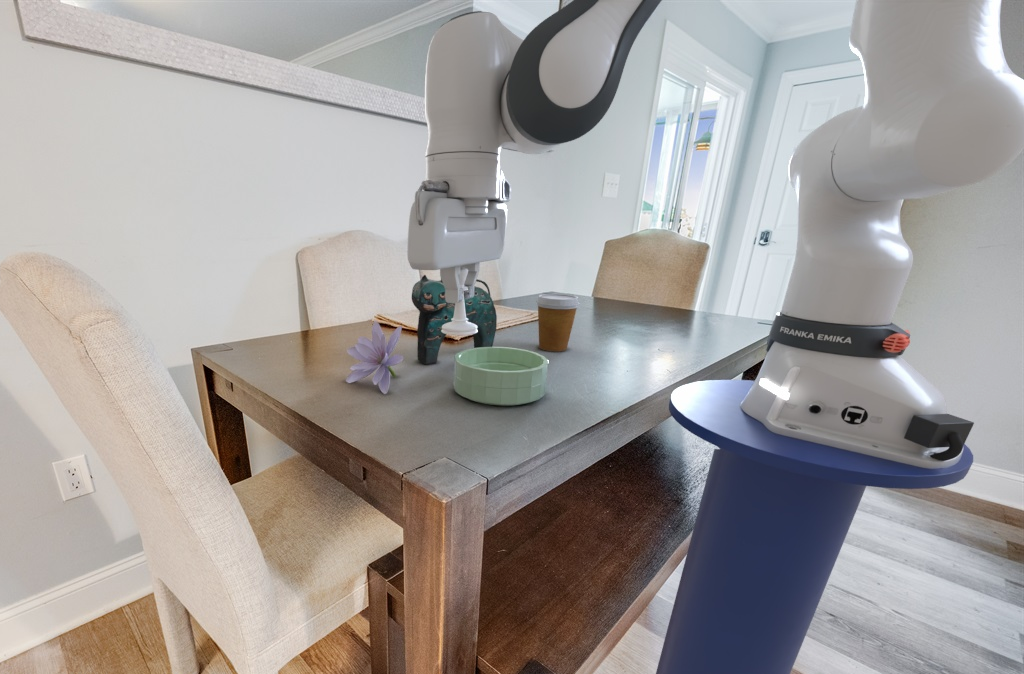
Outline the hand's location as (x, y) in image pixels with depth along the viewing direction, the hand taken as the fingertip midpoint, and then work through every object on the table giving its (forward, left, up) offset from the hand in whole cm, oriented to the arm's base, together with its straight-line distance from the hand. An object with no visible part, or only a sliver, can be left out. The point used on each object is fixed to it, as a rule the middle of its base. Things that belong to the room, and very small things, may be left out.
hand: (460, 300), depth 60 cm
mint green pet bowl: (+6, -15, -18) cm, 24 cm away
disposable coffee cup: (+19, -47, -18) cm, 54 cm away
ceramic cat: (+27, -23, -18) cm, 40 cm away
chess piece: (0, 0, -4) cm, 4 cm away
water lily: (+23, 0, -18) cm, 29 cm away
